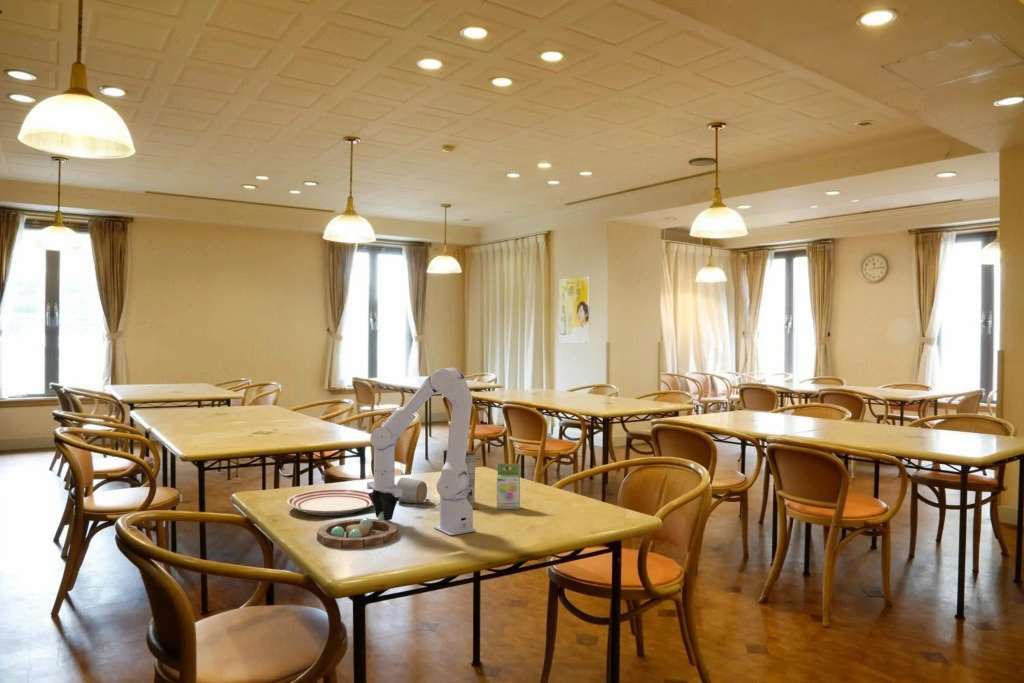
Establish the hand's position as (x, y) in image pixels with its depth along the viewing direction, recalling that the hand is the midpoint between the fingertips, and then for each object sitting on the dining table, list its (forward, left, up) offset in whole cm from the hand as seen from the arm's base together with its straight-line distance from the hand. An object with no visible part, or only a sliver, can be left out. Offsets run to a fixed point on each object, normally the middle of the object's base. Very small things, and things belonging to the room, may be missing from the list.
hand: (384, 518), depth 198 cm
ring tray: (-10, +12, -1) cm, 16 cm away
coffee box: (+11, -31, -2) cm, 33 cm away
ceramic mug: (+19, -19, -2) cm, 27 cm away
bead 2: (0, 0, -1) cm, 1 cm away
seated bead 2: (-15, +15, -1) cm, 21 cm away
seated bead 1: (-10, +18, -1) cm, 20 cm away
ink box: (-5, -39, -2) cm, 39 cm away
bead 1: (-6, +8, -1) cm, 10 cm away
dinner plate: (+25, +5, -2) cm, 26 cm away
